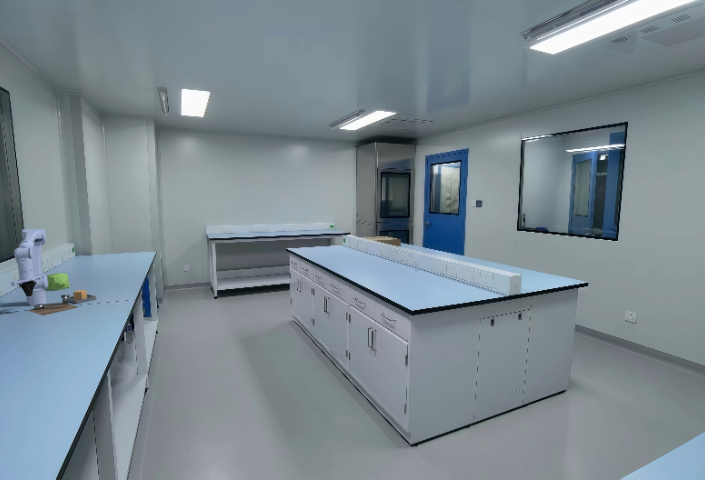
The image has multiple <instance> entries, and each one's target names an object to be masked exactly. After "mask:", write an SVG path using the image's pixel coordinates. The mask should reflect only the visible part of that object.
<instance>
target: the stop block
mask: <svg viewBox="0 0 705 480" xmlns="http://www.w3.org/2000/svg"><path fill="white" fill-rule="evenodd" d="M87 294H88V293H87V289H80V290H79V289H78V290H76V291H73V293H72V296H74V300H80V299H85V298H87Z"/></svg>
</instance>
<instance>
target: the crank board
mask: <svg viewBox="0 0 705 480" xmlns="http://www.w3.org/2000/svg"><path fill="white" fill-rule="evenodd" d="M76 308H79V306H77V305H73V304H71V303H69V304H67V305H58V306H45V307H44V309H40V310H35V309H34V308H31V309H27V311H28V312H31V313H35V314H37V315H41V316H48V315H53V314H56V313H60V312H65V311H69V310H72V309H76Z"/></svg>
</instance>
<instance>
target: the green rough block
mask: <svg viewBox="0 0 705 480" xmlns="http://www.w3.org/2000/svg"><path fill="white" fill-rule="evenodd" d="M46 276H47V280H48V287H47V288H46V289H45V290H50V291H58V290H64V289H66V288H70V286H71V285H70V279H69V274H68V273H64V272H63V273H62V272H55V273H51V274H48V275H47V274H46Z"/></svg>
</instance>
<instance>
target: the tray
mask: <svg viewBox="0 0 705 480" xmlns="http://www.w3.org/2000/svg"><path fill="white" fill-rule="evenodd" d="M96 300H97V296H96V295H93V294H88V293H87V298H85V299H80V300H74V296H73V295H72V296H69V297H68V303H70V304H71V303H72V304H75V305H79V304H84V303H87V302H92V301H96Z"/></svg>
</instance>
